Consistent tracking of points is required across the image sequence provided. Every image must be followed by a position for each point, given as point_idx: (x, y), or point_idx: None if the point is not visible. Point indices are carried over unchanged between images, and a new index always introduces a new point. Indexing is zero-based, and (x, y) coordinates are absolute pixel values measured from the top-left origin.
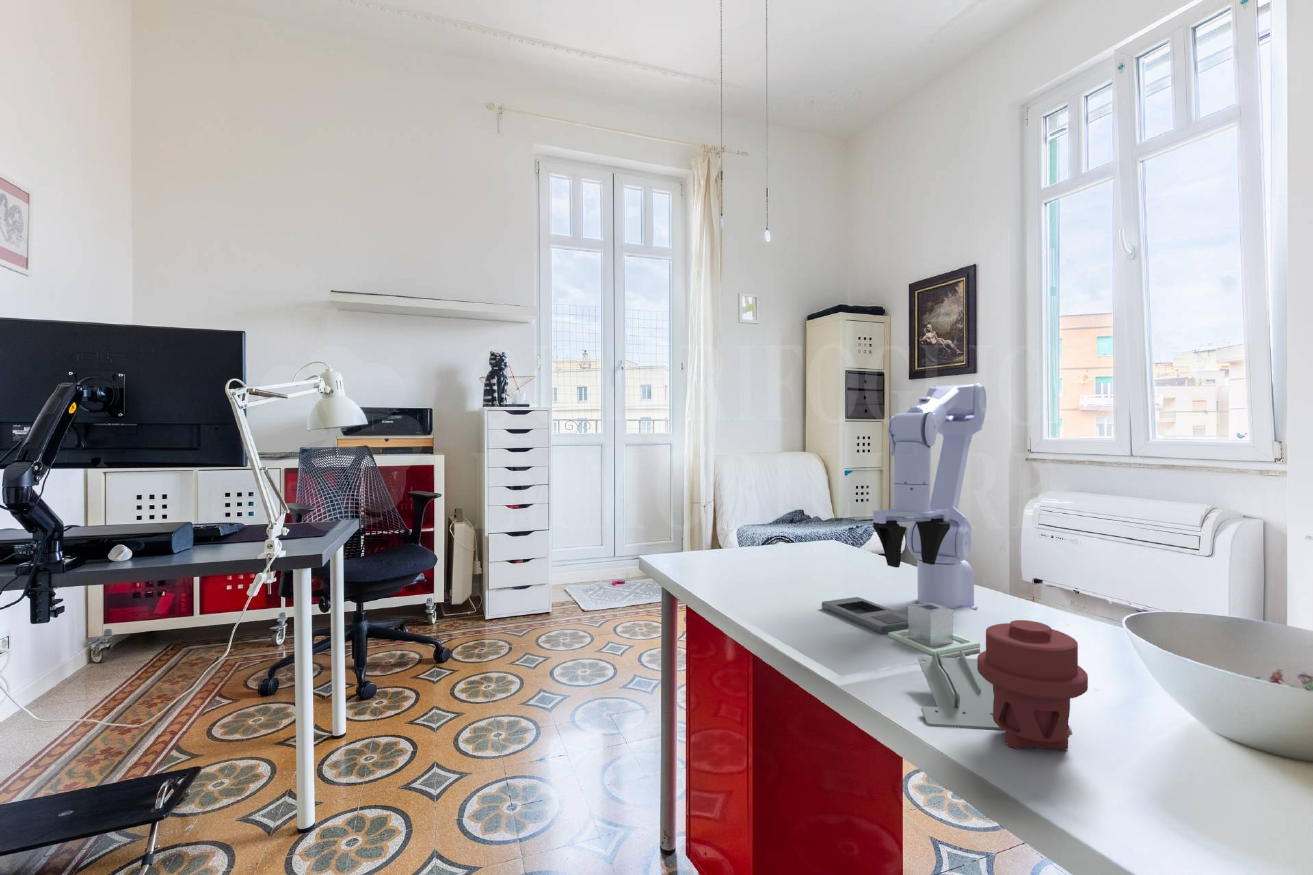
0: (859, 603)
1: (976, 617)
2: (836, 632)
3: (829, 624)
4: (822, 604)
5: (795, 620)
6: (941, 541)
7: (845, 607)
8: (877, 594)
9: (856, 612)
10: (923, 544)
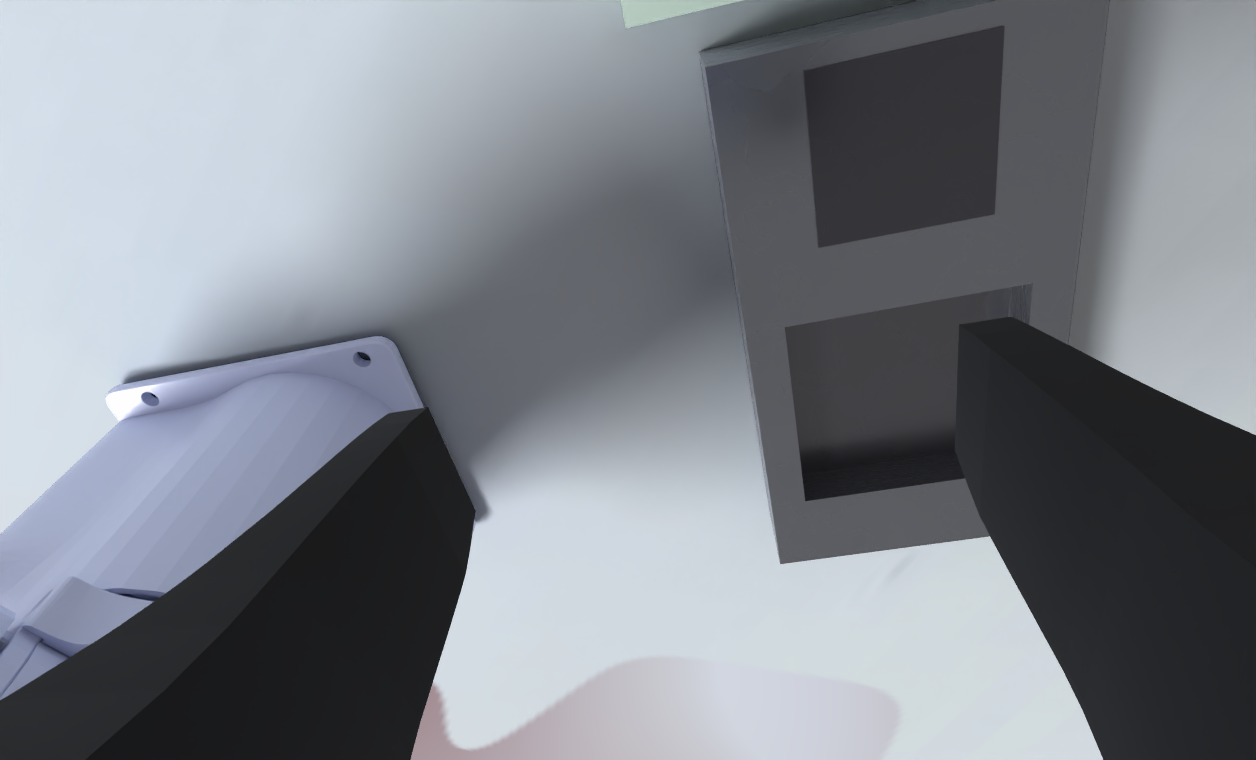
0: (824, 489)
1: (175, 274)
2: (1197, 188)
3: (1114, 327)
4: None
5: (1235, 420)
6: (136, 620)
7: (928, 465)
8: (539, 661)
9: (895, 409)
10: (402, 697)
